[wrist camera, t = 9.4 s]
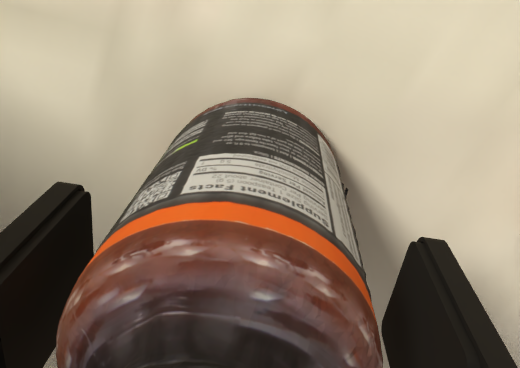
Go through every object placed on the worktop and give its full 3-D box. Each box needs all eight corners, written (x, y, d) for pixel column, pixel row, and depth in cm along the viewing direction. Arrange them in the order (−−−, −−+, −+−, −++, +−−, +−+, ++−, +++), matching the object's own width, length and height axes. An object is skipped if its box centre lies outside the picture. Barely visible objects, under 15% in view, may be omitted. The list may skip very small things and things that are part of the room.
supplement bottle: (285, 267, 17) (275, 700, 7) (147, 201, 16) (-97, 588, 6) (372, 144, 15) (554, 542, 4) (213, 58, 14) (-14, 310, 4)
